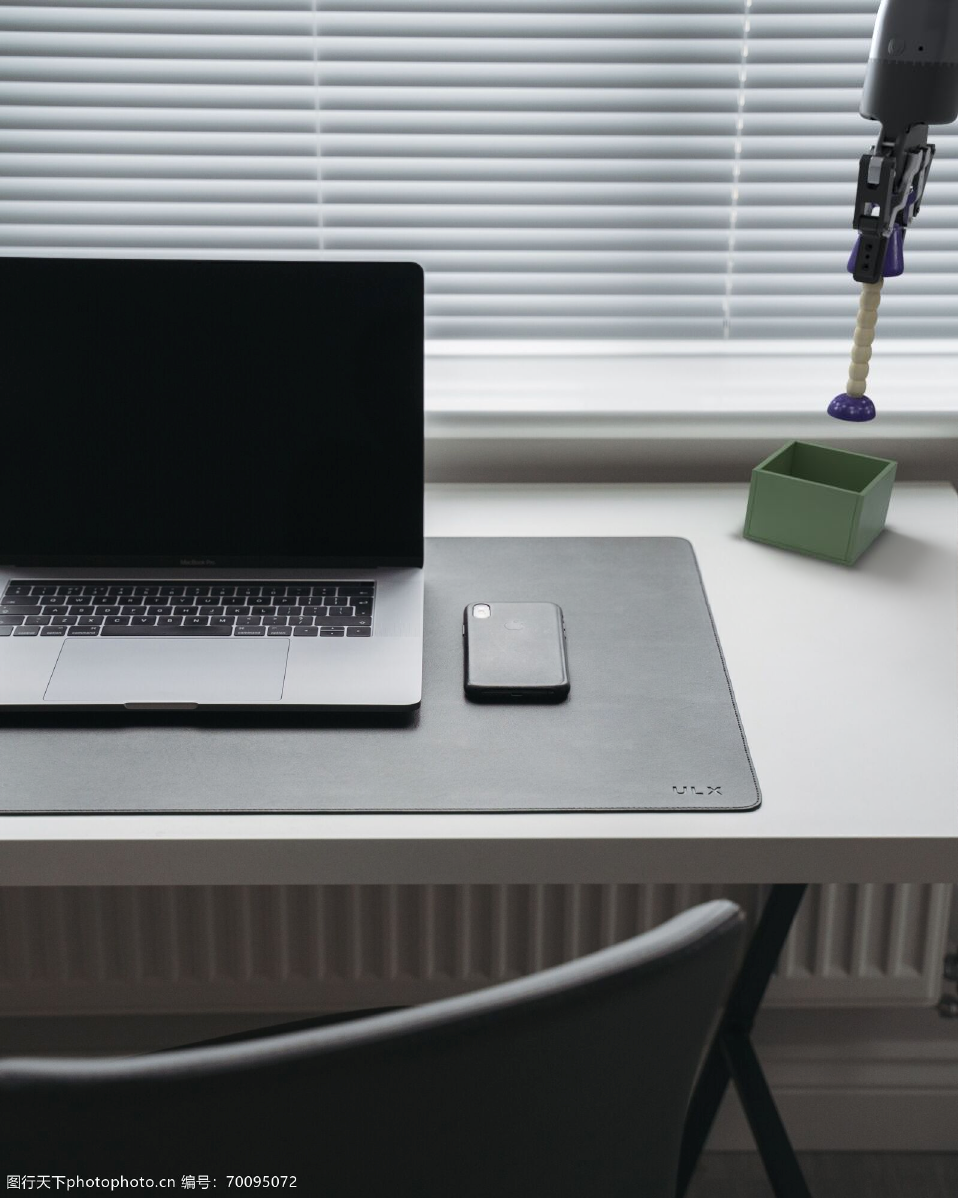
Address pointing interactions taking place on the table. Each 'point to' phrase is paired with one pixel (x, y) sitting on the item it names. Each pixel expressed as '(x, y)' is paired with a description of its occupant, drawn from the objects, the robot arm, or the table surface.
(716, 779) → the table surface
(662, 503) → the table surface
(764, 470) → the bin
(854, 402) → the toy lamp
